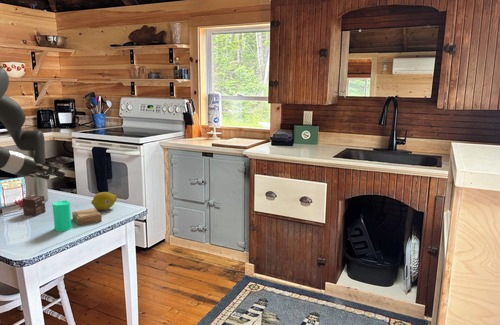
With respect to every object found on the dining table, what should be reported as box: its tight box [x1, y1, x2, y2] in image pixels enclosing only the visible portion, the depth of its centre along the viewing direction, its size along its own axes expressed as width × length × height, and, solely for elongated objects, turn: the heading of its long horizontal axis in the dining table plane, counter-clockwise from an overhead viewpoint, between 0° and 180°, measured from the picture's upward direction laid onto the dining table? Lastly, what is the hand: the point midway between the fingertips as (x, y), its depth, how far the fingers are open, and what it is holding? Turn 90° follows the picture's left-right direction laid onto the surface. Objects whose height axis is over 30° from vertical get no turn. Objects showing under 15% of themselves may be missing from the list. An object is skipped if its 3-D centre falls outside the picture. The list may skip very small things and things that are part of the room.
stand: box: [71, 207, 102, 227], centre depth 157 cm, size 9×9×3 cm
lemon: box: [91, 191, 118, 211], centre depth 169 cm, size 11×8×8 cm
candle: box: [52, 200, 73, 232], centre depth 147 cm, size 6×6×12 cm
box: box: [21, 195, 46, 217], centre depth 162 cm, size 6×6×7 cm
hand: (56, 176), depth 145 cm, fingers open, 8 cm apart
